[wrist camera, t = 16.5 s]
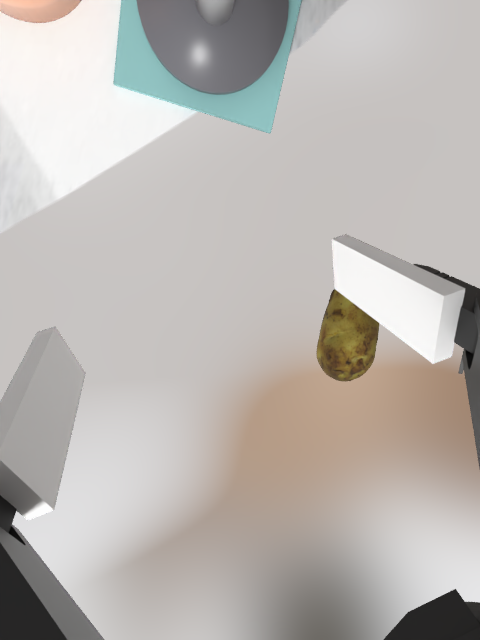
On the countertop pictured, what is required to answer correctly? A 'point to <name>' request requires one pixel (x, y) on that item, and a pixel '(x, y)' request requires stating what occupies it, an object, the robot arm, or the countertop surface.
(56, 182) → the countertop surface
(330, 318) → the potato
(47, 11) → the orange bowl
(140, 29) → the mat
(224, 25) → the lid
